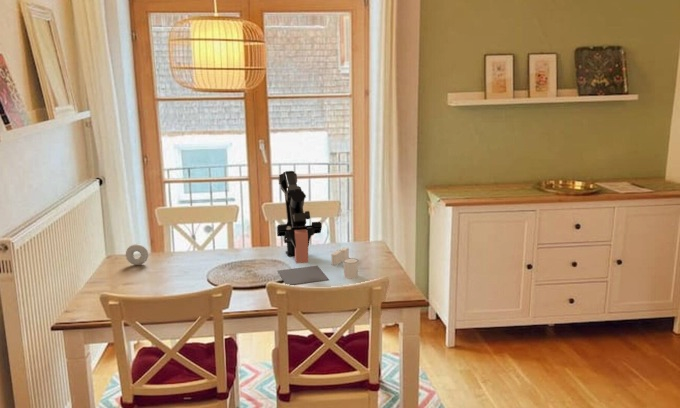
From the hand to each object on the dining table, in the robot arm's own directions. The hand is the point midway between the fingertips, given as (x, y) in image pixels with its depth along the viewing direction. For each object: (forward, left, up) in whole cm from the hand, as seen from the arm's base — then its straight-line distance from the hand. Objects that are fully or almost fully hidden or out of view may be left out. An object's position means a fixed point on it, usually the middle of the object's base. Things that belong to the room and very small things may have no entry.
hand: (301, 246), depth 244 cm
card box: (-1, 0, -7) cm, 7 cm away
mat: (-1, 0, -13) cm, 13 cm away
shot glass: (+7, +19, -14) cm, 24 cm away
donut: (-41, -67, -14) cm, 80 cm away
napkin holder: (-13, +22, -14) cm, 29 cm away
